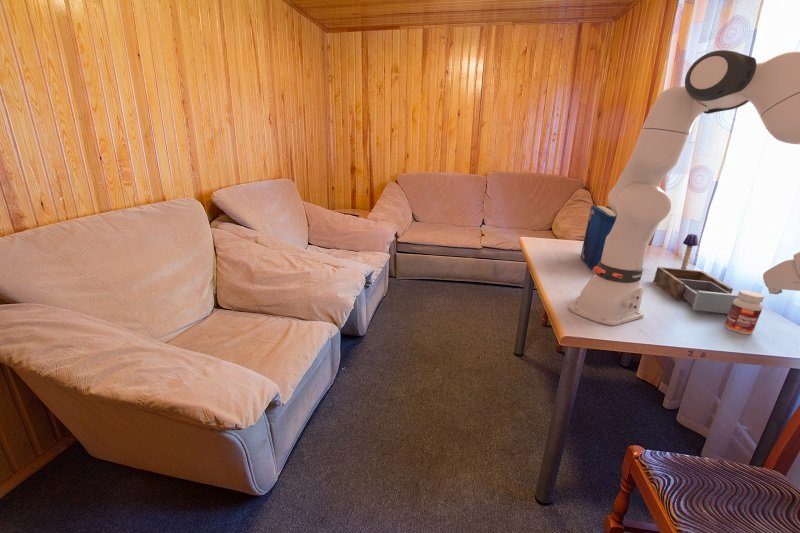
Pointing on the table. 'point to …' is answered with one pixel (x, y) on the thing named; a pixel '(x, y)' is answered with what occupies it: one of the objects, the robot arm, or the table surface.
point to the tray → (707, 296)
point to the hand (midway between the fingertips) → (794, 293)
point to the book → (597, 234)
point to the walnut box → (675, 287)
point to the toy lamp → (689, 248)
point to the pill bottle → (744, 312)
